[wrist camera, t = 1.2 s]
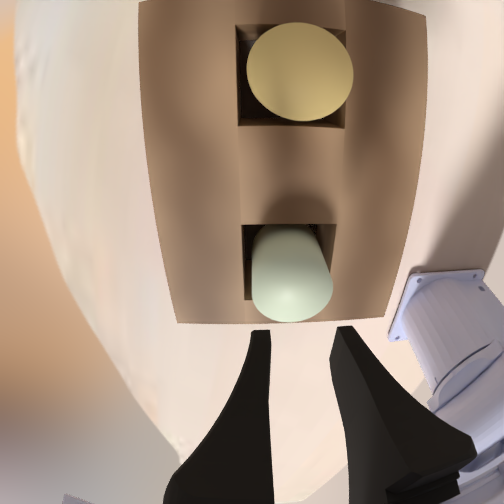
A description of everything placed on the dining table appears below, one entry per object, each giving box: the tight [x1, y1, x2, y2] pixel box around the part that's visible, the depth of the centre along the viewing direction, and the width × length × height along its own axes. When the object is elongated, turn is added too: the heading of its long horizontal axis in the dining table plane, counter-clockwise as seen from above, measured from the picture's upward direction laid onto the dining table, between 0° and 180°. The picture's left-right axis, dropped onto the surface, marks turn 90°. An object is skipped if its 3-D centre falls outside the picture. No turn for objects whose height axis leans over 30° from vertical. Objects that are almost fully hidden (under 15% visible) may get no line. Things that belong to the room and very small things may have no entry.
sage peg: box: [252, 224, 333, 322], centre depth 16 cm, size 4×4×4 cm
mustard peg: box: [247, 22, 353, 121], centre depth 11 cm, size 4×4×4 cm
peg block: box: [138, 0, 428, 324], centre depth 16 cm, size 14×19×4 cm
